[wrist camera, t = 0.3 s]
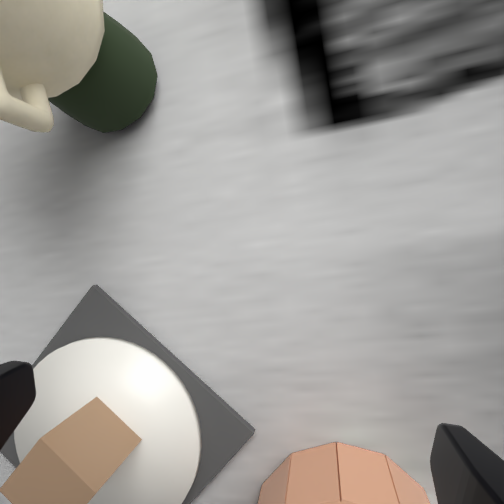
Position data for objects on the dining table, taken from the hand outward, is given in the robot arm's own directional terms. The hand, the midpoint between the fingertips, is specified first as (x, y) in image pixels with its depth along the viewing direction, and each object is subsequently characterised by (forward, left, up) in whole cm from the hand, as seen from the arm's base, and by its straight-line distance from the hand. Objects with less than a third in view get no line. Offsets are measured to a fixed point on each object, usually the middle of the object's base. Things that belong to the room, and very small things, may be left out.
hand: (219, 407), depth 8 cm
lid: (-15, +3, -15) cm, 21 cm away
